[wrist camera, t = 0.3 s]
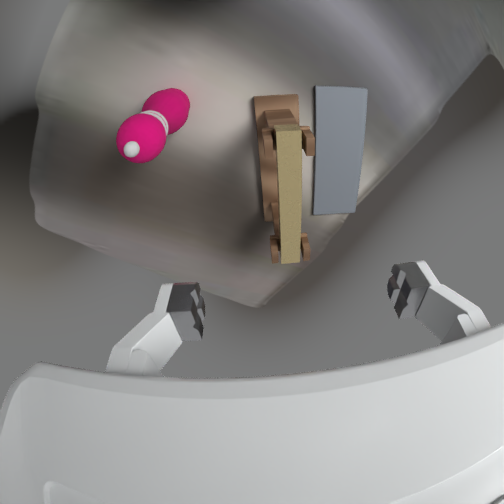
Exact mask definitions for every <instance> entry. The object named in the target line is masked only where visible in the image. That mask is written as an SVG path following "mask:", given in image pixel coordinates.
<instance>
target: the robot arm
mask: <svg viewBox="0 0 504 504" xmlns="http://www.w3.org/2000/svg"><path fill="white" fill-rule="evenodd" d="M391 272H392V274H393V275H392V277H391V278H390V279H389V280H388V284H387V291H388V295H389V298H390V300H391V301H392V302H394V303H395V306H394V309H395V311H396V313H397V315H398V318H399V319H403V318H409V317H415V318H416V319H417V320H419V321H420V322H421V323H422V324H423V325H424V326H426V328H427V329H429V330H430V331H431V332H432V333H433V334H434V335H435V336H436V337H437V338H438V339H440V340H441V341H442V342H441V343H440V345H438V346H435V347H431V348H428V349H424V350H420V351H416V352H413V353H409V354H404V355H400V356H397V357H392V358H388V359H383V360H378V361H373V362H368V363H363V364H358V365H352V366H346V367H340V368H333V369H326V370H319V371H311V372H303V373H293V374H283V375H271V376H256V377H235V378H172V377H164V376H163V374H162V373H161V372H160V371H161V370H162V368H163V367H164V366H165V364H166V363H167V362H168V360H169V359H170V358H171V357H172V355H173V354H174V353H175V351H176V350H177V349H178V347H179V346H180V345H181V344H182V341H194V340H202V336H203V329H204V327H203V324H202V321H203V320H204V319H205V302H204V298H203V296H201V295H200V290H201V288H200V285H199V283H198V282H188V283H170V284H169V283H168V284H162V286H161V288H160V291H159V294H158V297H157V301H156V304H155V308H154V311H153V313H150V314H148V315H147V316H146V317H145V318H144V319H143V320H142V321H141V322H140V323H139V324H138V325H137V326H135V327H134V328H133V329H132V330H131V331H130V332H129V333H128V334H127V335H126V336H125V337H123V339H121V340H120V341H119V342H118V343H117V344H116V345H115V346H114V347H113V349H112V352H111V355H110V358H109V361H108V364H107V367H106V371H105V372H100V371H93V370H86V369H80V368H74V367H68V366H62V365H57V364H52V363H48V362H42V361H41V362H37V363H35V364H33V365H32V366H31V367H29V368H28V369H27V370H26V371H25V372H23V373H22V374H21V375H20V376H19V377H18V378H17V379H16V380H15V381H14V382H13V383H12V385H11V387H10V389H9V391H8V393H7V395H6V397H5V400H4V402H3V405H2V408H1V411H0V504H504V323H502V324H499V325H496V326H494V327H491V326H490V324H489V323H488V321H487V319H486V317H485V316H484V314H483V312H482V311H481V309H480V308H479V307H477V306H476V305H474V304H473V303H471V302H470V301H468V300H467V299H465V298H464V297H462V296H461V295H459V294H458V293H456V292H455V291H453V290H451V289H450V288H448V287H446V286H445V285H443V284H441V285H440V283H439V282H438V280H437V278H436V277H435V275H434V274H433V272H432V271H431V269H430V268H429V266H428V265H427V263H426V262H425V261H423V260H422V261H415V262H408V263H400V264H394V265H393V267H392V270H391Z"/></svg>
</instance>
